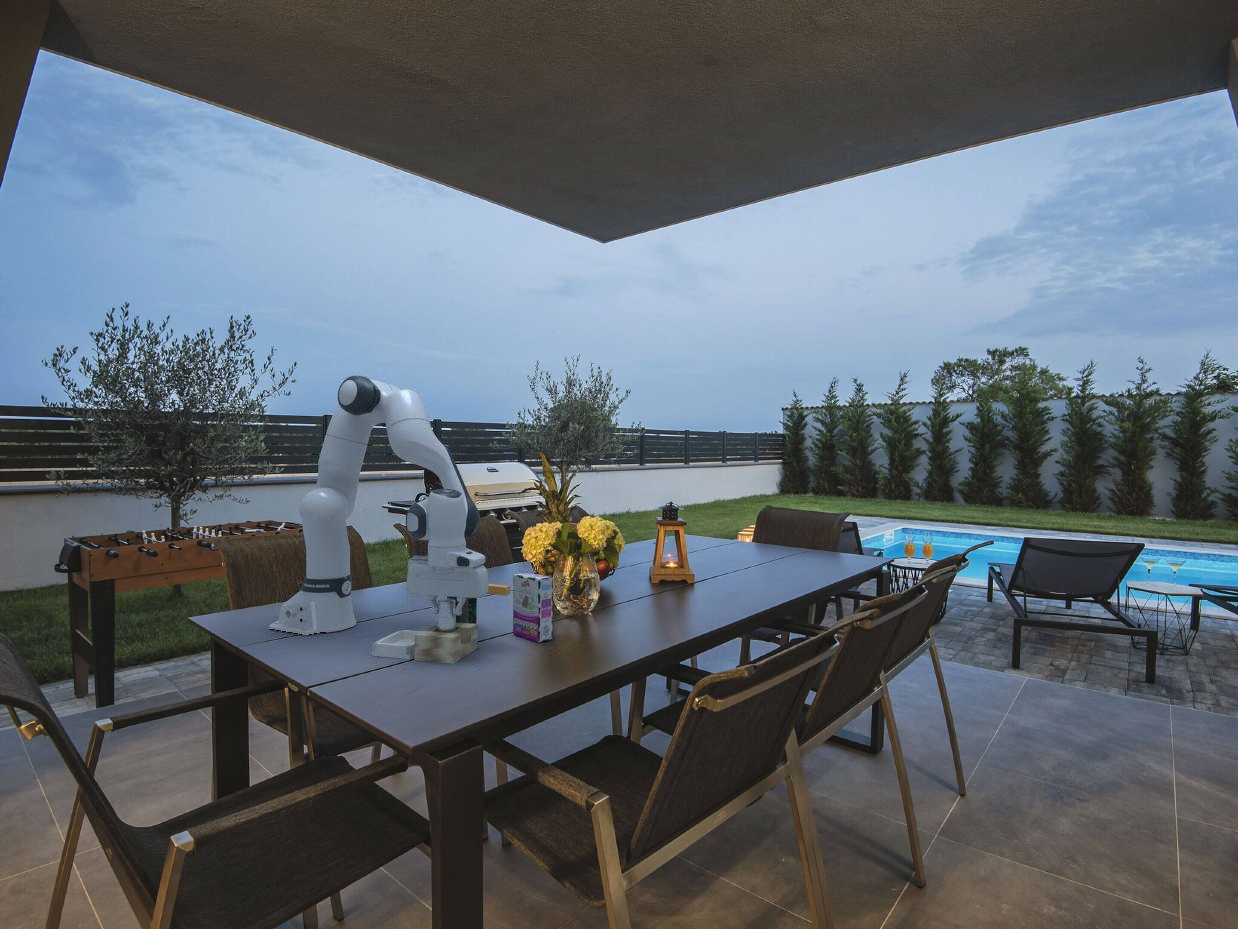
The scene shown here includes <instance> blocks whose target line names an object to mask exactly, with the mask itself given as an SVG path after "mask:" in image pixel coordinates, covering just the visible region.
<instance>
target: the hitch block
mask: <svg viewBox="0 0 1238 929" xmlns="http://www.w3.org/2000/svg"><path fill="white" fill-rule="evenodd" d="M420 631H421V632H419V633H417V634H415V657H414V661H417V662H426V663H438V664H439V663H440V664H452V665H454V664H455V663H458V662H459V661H461V660H462V659H463V658H465V657H466V656H468V655H469V654H471V653H472V652H474V651H475V650H477V649H478V624H470V623H468V598H466V601H465V603H464V605H463V606H462V613H461V623H456V631H454V632H452V633H445V632H438V622H437V623H435V624H433V625H430V626H429V627H427V628H425V629H423V630H420Z"/></svg>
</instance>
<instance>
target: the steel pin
mask: <svg viewBox="0 0 1238 929" xmlns="http://www.w3.org/2000/svg"><path fill="white" fill-rule="evenodd" d="M437 603H438V614H437V615H438V616H437V619H438V620H437V621H438V622H437V623H438V632H445V633H452V632H454V631H456V615H453V608H455V607H456V600H455V599H452V598H447V597H446V598H439V599H438V601H437Z"/></svg>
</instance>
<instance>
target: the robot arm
mask: <svg viewBox="0 0 1238 929" xmlns="http://www.w3.org/2000/svg"><path fill="white" fill-rule="evenodd" d="M337 402H338V405H337V406H336V408H335V410H334V412H333V414H332V417H331V419H330V421H329V424H328V426H327V430H326V433H325V437H324V441H323V443H322V444H323V445H322V448H321V451H320V455H319V457H318V462H317V463H318V469H317V470H318V472H317V479H316V480H317V481H316V487H315V489H312V490H311V491H308V493H307V494H306V495H305V496H304V497H303V498H302V500H301V502H300V504H299V506H298V511H299V512H298V513H299V516H300V518H301V525H302V532H303V537H304V543H305V552H306V553H305V554H306V555H305V556H306V558H305V559H306V561H305V562H306V563H305V564H306V567H305V569H306V573H305V574H306V576H305V577H304V578H302V579H298V580H297V582H298V583H297V585H301V587H300V590H299V591H298V592H296V593H295V594H294V595H293V596H292V597H290V598H289V599H288V600H286V601H285V602H284V603H283V604H282V605H281V607H280V610H279V613H278V614H279V616H278V620H276V621H274V622H272V623H270V624H269V626H268V629H269V630H270V629H277V630H281V631H280V632H282V631H286V632H285V633H287V632H293V633H298V634H297V635H299V634H302V635H301V636H310V635H309V634H312V635H315V634H314V633H317V634H321V633H320V632H326V633H333V632H338V631H343V630H347V629H349V628H352V627H354V626H356V625H357V620H356V617H355V613H354V609H353V603H352V602H353V601H352V590H353V589H352V588H353V579H352V574H351V545H350V541H349V537H348V536H349V535H348V529H347V520H348V519H349V518H350V517H351V515H352V514H353V512H354V508H355V504H356V500H357V499H356V498H357V493H358V487H359V483H360V474H361V469H362V466H363V463H364V458H365V455H366V452H367V448H368V444H369V441H370V440H369V439H370V436H371V431H373V429H374V427H375V426H376V425H378V424H379V425H381V427H383V428H384V427H385V428H386V433H387V438H388V442H389V446H390V448H391V449H392V451H393V453H394V454H395V455H396V456H397V457H398V458H400V459H401V460H403V461H405V462H407V463H410V464H414V465H417V466H420V467H422V468H425V469H427V470H429V471H431V472H433V473H434V474H435V475H436V476H437V477H438V478H439V481H440V483H441V485H442V488H436V489H433V490H432V491H431V492H430V493H429V495H428V497H426V498H425V499H424V500H421V501H419V502H415V503H414V504H412V505H411V506H410V507H409V509H408V510H407V512H406V514H405V528H406V531H407V533H408V534H409V535H410V536H411V537H412V538H414V539H415V540H419V541H428V543H427V555H416V554H415V555H413V557H411V558H409V560H407V575H406V583H405V584H406V585H405V589H406V592H407V593H408V594H409V595H417V596H418V595H419V596H420V595H421V596H427V601H428V603H429V605H430V606H431V614H432V615H438V601H437V599H438V597H447V596H449V597H457V601H459V603H458V605H457V607H455V608H453V615H458V616H459V615H461V613H462V606H463V605H464V603H465V601H466V598H477V599H482V598H484V597H485V596H487V595H488V594H487V593H488V589H489V585H488V584H489V576H488V570H487V567H485V565H483V564H485V562H486V556H485V555H484V554H482V553H480V552H478V551H474V550H472V549H469V548H467V542H466V539H468V538H470V537H471V536H472V535H473V534H474V533H475V532H476V531H477V529H478V528H479V525H480V524H481V514H480V511H479V509H478V507H477V505H476V504H475V502H474V500H473V499H472V497H471V496H470V493H469V491H468V489H467V487H466V484H465V481H464V480H463V477H462V475H461V473H460V470H459V468H458V465H457V464H456V461H455V459H454V456H453V455H452V453H451V450H450V449H449V448H448V447H447V446H445V445H444V444H443V443H442V442H441V441H440V440H439V439H438V438H437V436H436V435H435V433H434V431H433V428H432V425H431V421H430V418H429V415H428V412H427V408H426V407H425V405H424V403H423V401H422V399H421V396H420V395H419V394H418V393H417V392H416V391H414V390H412V389H407V388H399V387H398V386H395V385H393V384H391V383H389V382H386V381H380V380H376V379H372V378H368V377H367V376H363V375H350V376H348V377H346V378H345V379H344V380H343V381H342V383H341V384H340V385H339V387H338V391H337ZM293 633H292V634H293Z"/></svg>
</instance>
